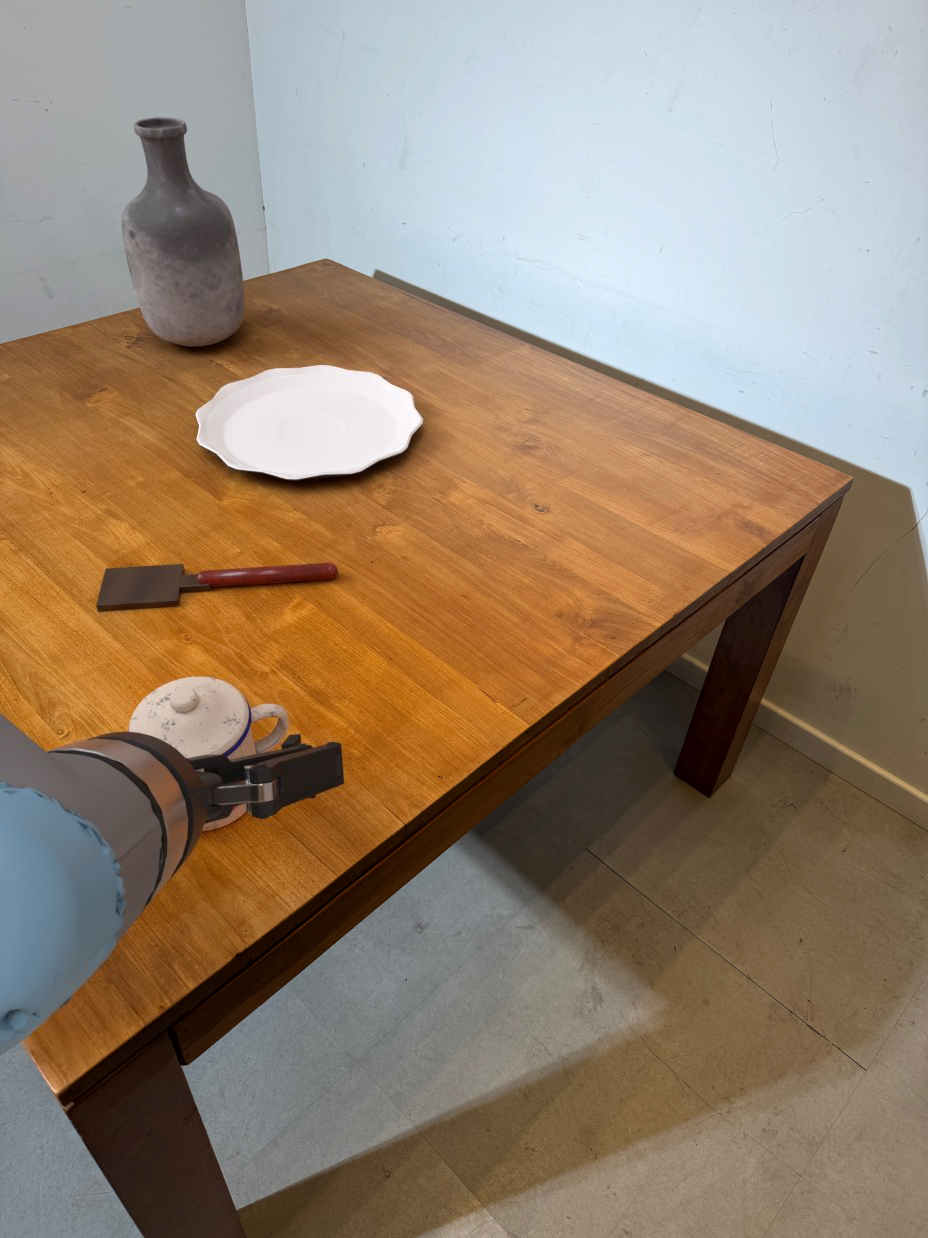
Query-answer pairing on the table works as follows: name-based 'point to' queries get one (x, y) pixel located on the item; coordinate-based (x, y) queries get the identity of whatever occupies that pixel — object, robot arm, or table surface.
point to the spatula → (192, 582)
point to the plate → (308, 422)
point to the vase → (181, 246)
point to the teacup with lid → (207, 723)
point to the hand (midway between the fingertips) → (195, 762)
